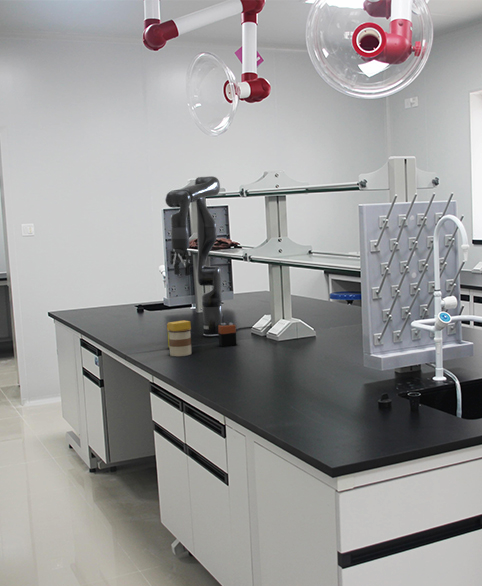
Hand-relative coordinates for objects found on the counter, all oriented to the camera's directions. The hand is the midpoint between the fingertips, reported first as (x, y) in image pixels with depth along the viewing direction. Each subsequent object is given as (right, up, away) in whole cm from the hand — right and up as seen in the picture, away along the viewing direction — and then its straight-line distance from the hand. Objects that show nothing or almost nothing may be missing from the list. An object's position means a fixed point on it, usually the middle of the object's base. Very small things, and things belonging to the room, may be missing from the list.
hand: (182, 274), depth 306 cm
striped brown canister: (+2, -34, -12) cm, 36 cm away
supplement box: (-3, -32, +2) cm, 32 cm away
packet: (+1, -23, -13) cm, 26 cm away
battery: (+19, -31, +4) cm, 37 cm away
